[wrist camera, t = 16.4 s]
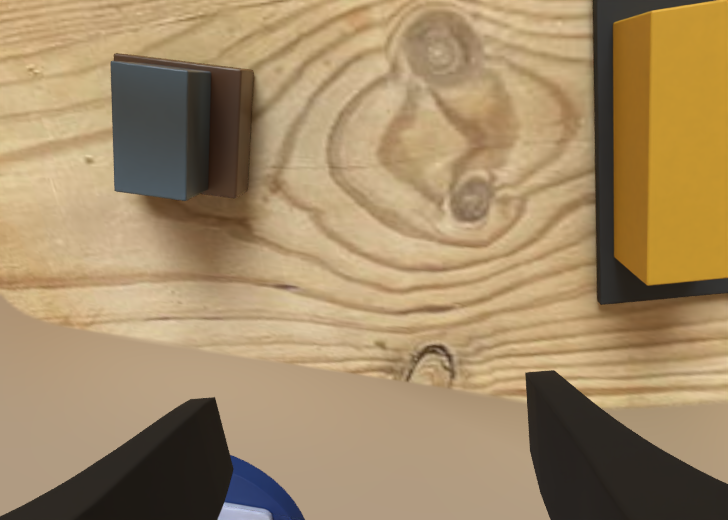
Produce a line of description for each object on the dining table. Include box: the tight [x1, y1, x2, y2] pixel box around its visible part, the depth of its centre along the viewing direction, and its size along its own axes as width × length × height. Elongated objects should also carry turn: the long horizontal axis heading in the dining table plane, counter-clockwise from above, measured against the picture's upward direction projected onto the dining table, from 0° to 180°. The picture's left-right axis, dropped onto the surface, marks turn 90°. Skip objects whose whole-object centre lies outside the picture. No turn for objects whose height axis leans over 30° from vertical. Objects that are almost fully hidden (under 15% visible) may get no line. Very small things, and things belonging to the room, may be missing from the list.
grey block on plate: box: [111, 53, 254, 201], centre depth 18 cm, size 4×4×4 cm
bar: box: [613, 0, 728, 286], centre depth 17 cm, size 8×3×3 cm, turn 8°
